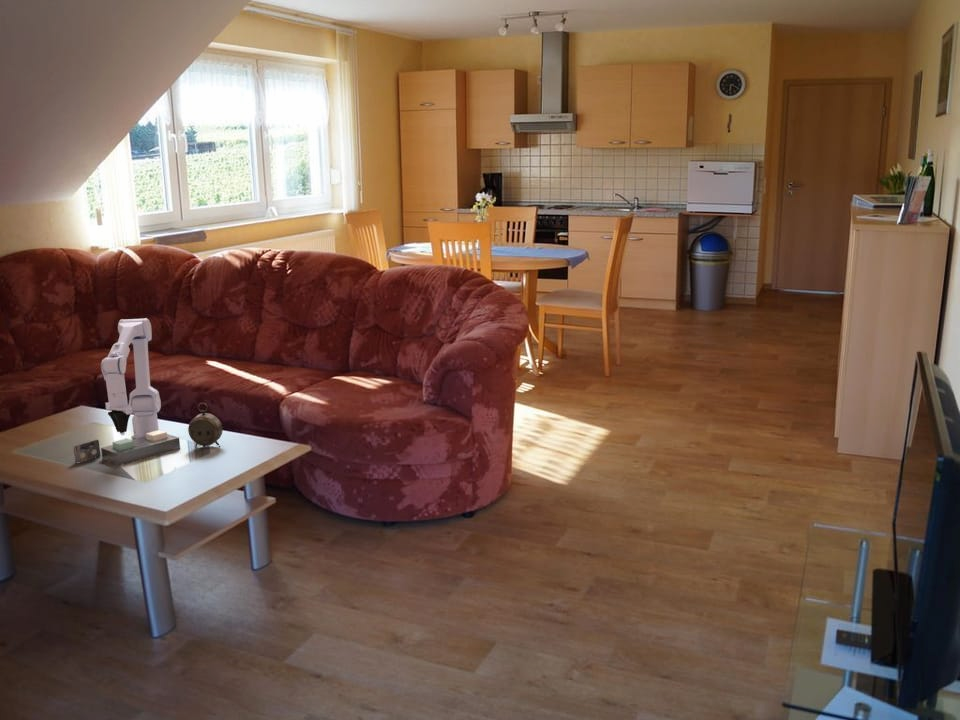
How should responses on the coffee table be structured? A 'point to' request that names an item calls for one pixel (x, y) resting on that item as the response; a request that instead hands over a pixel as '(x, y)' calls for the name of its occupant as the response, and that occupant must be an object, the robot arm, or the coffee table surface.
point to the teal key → (123, 444)
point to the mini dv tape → (87, 451)
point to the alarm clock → (205, 429)
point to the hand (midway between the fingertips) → (121, 431)
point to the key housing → (140, 450)
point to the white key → (156, 435)
